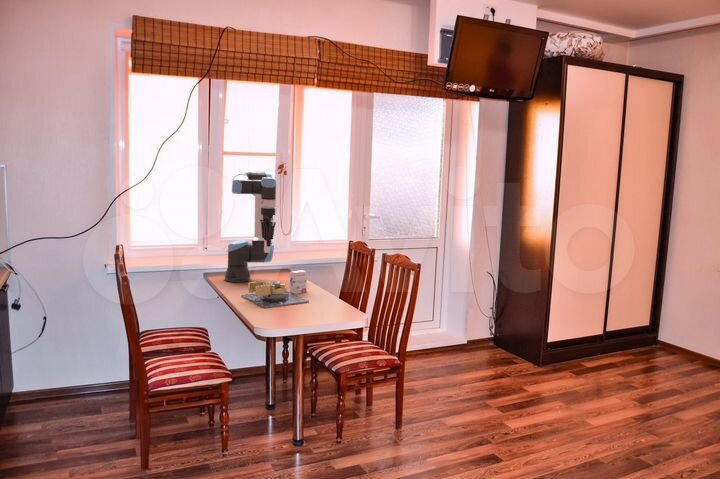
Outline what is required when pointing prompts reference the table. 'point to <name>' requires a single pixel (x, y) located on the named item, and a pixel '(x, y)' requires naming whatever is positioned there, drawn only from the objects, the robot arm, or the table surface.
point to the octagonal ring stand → (265, 288)
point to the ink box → (298, 281)
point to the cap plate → (274, 303)
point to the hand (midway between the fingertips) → (267, 252)
